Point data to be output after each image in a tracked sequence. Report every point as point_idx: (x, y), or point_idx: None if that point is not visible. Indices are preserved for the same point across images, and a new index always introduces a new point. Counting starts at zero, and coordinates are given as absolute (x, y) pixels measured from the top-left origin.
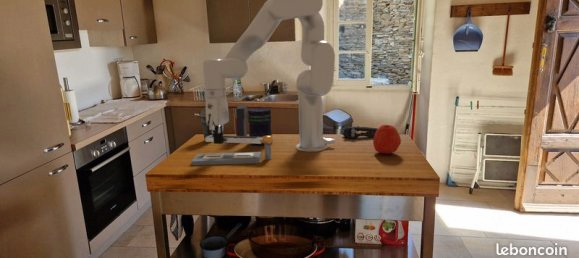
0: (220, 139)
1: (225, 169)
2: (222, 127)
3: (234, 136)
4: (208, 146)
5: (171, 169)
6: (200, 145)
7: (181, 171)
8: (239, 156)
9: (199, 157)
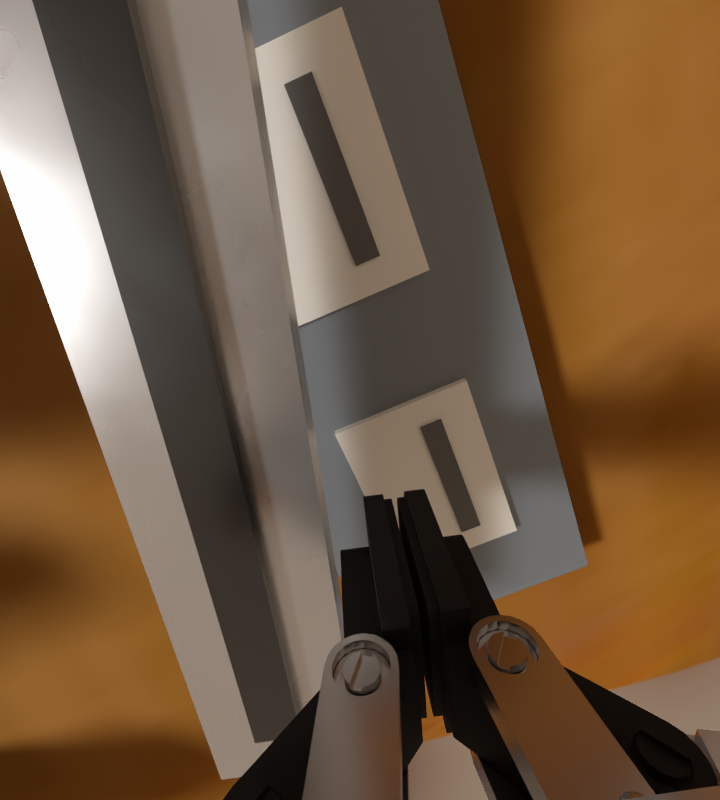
0: (440, 537)
1: (662, 211)
2: (371, 748)
3: (220, 409)
4: (46, 725)
5: (668, 600)
6: (54, 780)
7: (713, 520)
8: (383, 208)
9: None
